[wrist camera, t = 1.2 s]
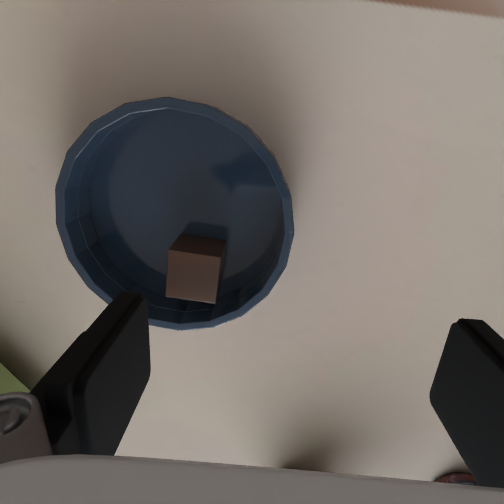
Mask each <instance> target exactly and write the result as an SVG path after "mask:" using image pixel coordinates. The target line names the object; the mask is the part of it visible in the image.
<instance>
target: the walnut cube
mask: <svg viewBox="0 0 504 504" xmlns="http://www.w3.org/2000/svg"><path fill="white" fill-rule="evenodd" d="M226 244H227V241H226V240H220V239H213V238H207V237H200V236H194V235H187V234H180V235H179V237H178V238H177V239H176V240H175V242H174V243H173V244H172V246H171V247H170V248H169V250H168V263H167V278H166V293H165V296H167V297H174V298H181V299H187V300H194V301H201V302H207V303H214V304H215V303H216V300H217V296H218V293H219V289H220V286H221V282H222V275H223V267H224V259H225V251H226Z"/></svg>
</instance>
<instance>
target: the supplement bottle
mask: <svg viewBox="0 0 504 504" xmlns="http://www.w3.org/2000/svg"><path fill="white" fill-rule="evenodd" d="M436 482H441V483H451V484H462V485H473V486H478V484H477V483H476V481H475V479H474V477H473V476H472V475H471V474H465V473H452V474H449V475H447V476H444V477H441V478H440V479H438V480H437V481H436Z"/></svg>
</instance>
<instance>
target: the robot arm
mask: <svg viewBox="0 0 504 504" xmlns="http://www.w3.org/2000/svg"><path fill="white" fill-rule="evenodd" d="M150 370H151V367H150V346H149V324H148V303H147V299H146V298H143V297H142V296H141V293H139V292H127V291H121V292H119V293H118V295H117V296H116V297H115V298H114V299H113V300H112V302H111V303H110V304H109V305H108V306H107V307H106V308H105V310H104V311H103V312H102V313H101V314H100V315H99V317H98V318H97V319H96V320H95V321H94V322H93V323H92V325H91V326H90V327H89V328H88V329H87V330H86V331H85V332H83V333H82V334H80V335H79V337H78V338H77V339H76V340H75V341H74V342H73V343H72V345H71V346H70V347H69V348H68V349H67V350H66V351H65V353H64V354H63V355H62V356H61V357H60V358H59V359H58V361H57V362H56V363H55V364H54V365H53V366H52V367H51V368H50V370H49V371H48V372H47V373H46V374H45V375H44V376H43V378H42V379H41V380H40V381H39V382H38V383H37V384H36V386H35V387H34V388H33V389H32V390H31V391H30V392H29V393H27V392H21V391H18V392H8V393H4V394H0V504H504V339H503V338H502V337H501V336H499V335H498V334H497V333H496V332H495V331H494V330H493V329H492V328H491V327H490V326H489V325H488V324H487V323H485V322H484V321H483V320H476V319H463V318H461V319H459V320H458V321H457V323H453V324H452V325H451V328H450V331H449V334H448V337H447V340H446V343H445V346H444V349H443V353H442V356H441V359H440V362H439V365H438V368H437V371H436V374H435V378H434V381H433V384H432V387H431V390H430V402H431V405H432V406H433V408H434V410H435V412H436V413H437V415H438V417H439V419H440V420H441V422H442V424H443V426H444V427H445V429H446V431H447V432H448V434H449V436H450V438H451V439H452V441H453V443H454V445H455V446H456V448H457V450H458V451H459V453H460V455H461V457H462V458H463V460H464V462H465V464H466V465H467V467H468V469H469V470H470V472H471V474H472V476H473V477H474V479H475V481H476V483H477V484H478V486H473V485H462V484H451V483H441V482H430V481H420V480H409V479H397V478H386V477H375V476H364V475H352V474H341V473H329V472H318V471H306V470H295V469H283V468H271V467H259V466H246V465H234V464H222V463H210V462H197V461H185V460H172V459H158V458H144V457H129V456H114V454H115V452H116V450H117V448H118V446H119V443H120V441H121V439H122V437H123V435H124V433H125V430H126V428H127V426H128V424H129V422H130V419H131V417H132V415H133V413H134V411H135V409H136V406H137V404H138V402H139V400H140V398H141V396H142V393H143V391H144V389H145V387H146V385H147V383H148V380H149V377H150Z"/></svg>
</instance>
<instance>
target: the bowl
mask: <svg viewBox="0 0 504 504" xmlns="http://www.w3.org/2000/svg"><path fill="white" fill-rule="evenodd" d="M55 194H56V225H57V228H58V231H59V234H60V237H61V240H62V243H63V246H64V249H65V252H66V254H67V257H68V260H69V261H70V262H71V264H72V265H73V267H74V268H75V270H76V271H77V272H78V274H79V275H80V277H81V278H82V280H83V281H84V282H85V284H86V285H87V287H89V289H91V290H92V291H93V292H94V293H95V294H97V295H98V296H99V297H100V298H101V299H103V300H104V301H105V302H106V303H107V304H110V303H111V302H112V300H113V299H114V298H115V297H116V296H117V295H118V293H119V292H121V291H127V292H139V293H141V296H142V297H143V298H146V299H147V303H148V324H149V325H151V326H156V327H162V328H168V329H173V330H180V331H182V330H193V329H203V328H212V327H216V326H218V325H221V324H223V323H226V322H228V321H231V320H233V319H236V318H238V317H241V316H243V315H244V314H245V313H247V312H248V311H249V310H250V309H252V308H253V307H254V306H255V305H256V304H258V303H259V302H260V301H261V300H263V299H264V298H265V297H266V296H268V294H269V293H270V291H271V290H272V288H273V287H274V285H275V283H276V282H277V280H278V279H279V277H280V276H281V274H282V272H283V271H284V269H285V268H286V265H287V261H288V257H289V253H290V249H291V245H292V240H293V236H294V222H293V211H292V201H291V194H290V191H289V188H288V185H287V183H286V181H285V178H284V176H283V174H282V171H281V169H280V167H279V165H278V162H277V160H276V158H275V156H274V154H273V152H272V151H271V150H270V149H269V148H268V147H267V146H266V144H265V143H264V142H263V141H262V140H261V139H260V138H259V136H258V135H257V134H256V133H255V132H254V131H253V130H252V129H251V128H250V127H249V126H248V125H246V124H244V123H243V122H241V121H239V120H238V119H236V118H235V117H233V116H231V115H229V114H227V113H225V112H224V111H222V110H220V109H219V108H216V107H213V106H210V105H206V104H201V103H196V102H191V101H186V100H181V99H176V98H171V97H162V98H155V99H148V100H142V101H135V102H128V103H125V104H123V105H121V106H119V107H117V108H116V109H114V110H112V111H110V112H109V113H107V114H105V115H103V116H101V117H100V118H98V119H96V120H94V121H93V122H91V123H90V124H89V126H88V127H87V128H86V129H85V130H84V132H83V133H82V134H81V135H80V137H79V138H78V139H77V140H76V141H75V143H74V144H73V145H72V146H71V148H70V149H69V150H68V151H67V153H66V157H65V160H64V163H63V166H62V169H61V172H60V175H59V178H58V181H57V184H56V188H55ZM180 234H187V235H194V236H200V237H207V238H213V239H220V240H226V241H227V244H226V251H225V259H224V267H223V275H222V282H221V286H220V289H219V293H218V296H217V300H216V303H215V304H214V303H207V302H201V301H194V300H187V299H181V298H174V297H167V296H165V293H166V278H167V263H168V250H169V248H170V247H171V246H172V244H173V243H174V242H175V240H176V239H177V238H178V237H179V235H180Z"/></svg>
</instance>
